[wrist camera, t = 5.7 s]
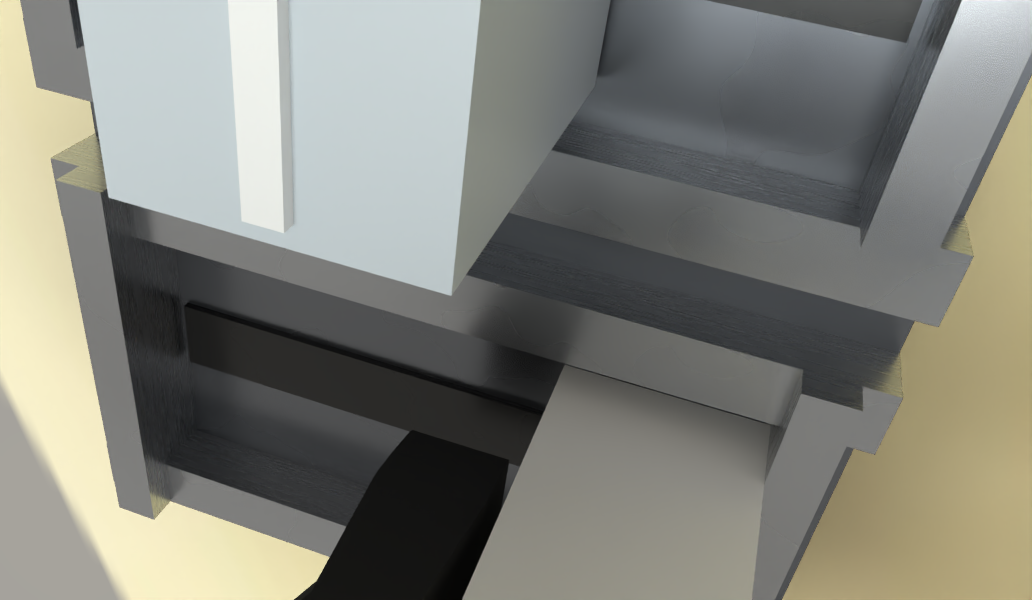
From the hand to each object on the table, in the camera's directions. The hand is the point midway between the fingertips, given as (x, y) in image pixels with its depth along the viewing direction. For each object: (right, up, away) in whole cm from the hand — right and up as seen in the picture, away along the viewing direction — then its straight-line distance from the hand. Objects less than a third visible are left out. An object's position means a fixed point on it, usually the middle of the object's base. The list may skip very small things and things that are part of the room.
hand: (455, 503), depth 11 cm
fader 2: (+2, 0, +1) cm, 2 cm away
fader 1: (0, +6, -3) cm, 7 cm away
